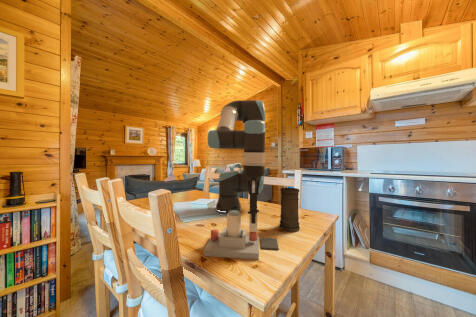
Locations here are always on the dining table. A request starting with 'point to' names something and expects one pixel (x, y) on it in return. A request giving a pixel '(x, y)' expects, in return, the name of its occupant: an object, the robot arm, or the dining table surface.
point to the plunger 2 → (253, 236)
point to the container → (289, 210)
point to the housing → (233, 246)
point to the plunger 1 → (214, 234)
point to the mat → (269, 243)
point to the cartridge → (234, 224)
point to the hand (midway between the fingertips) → (253, 231)
